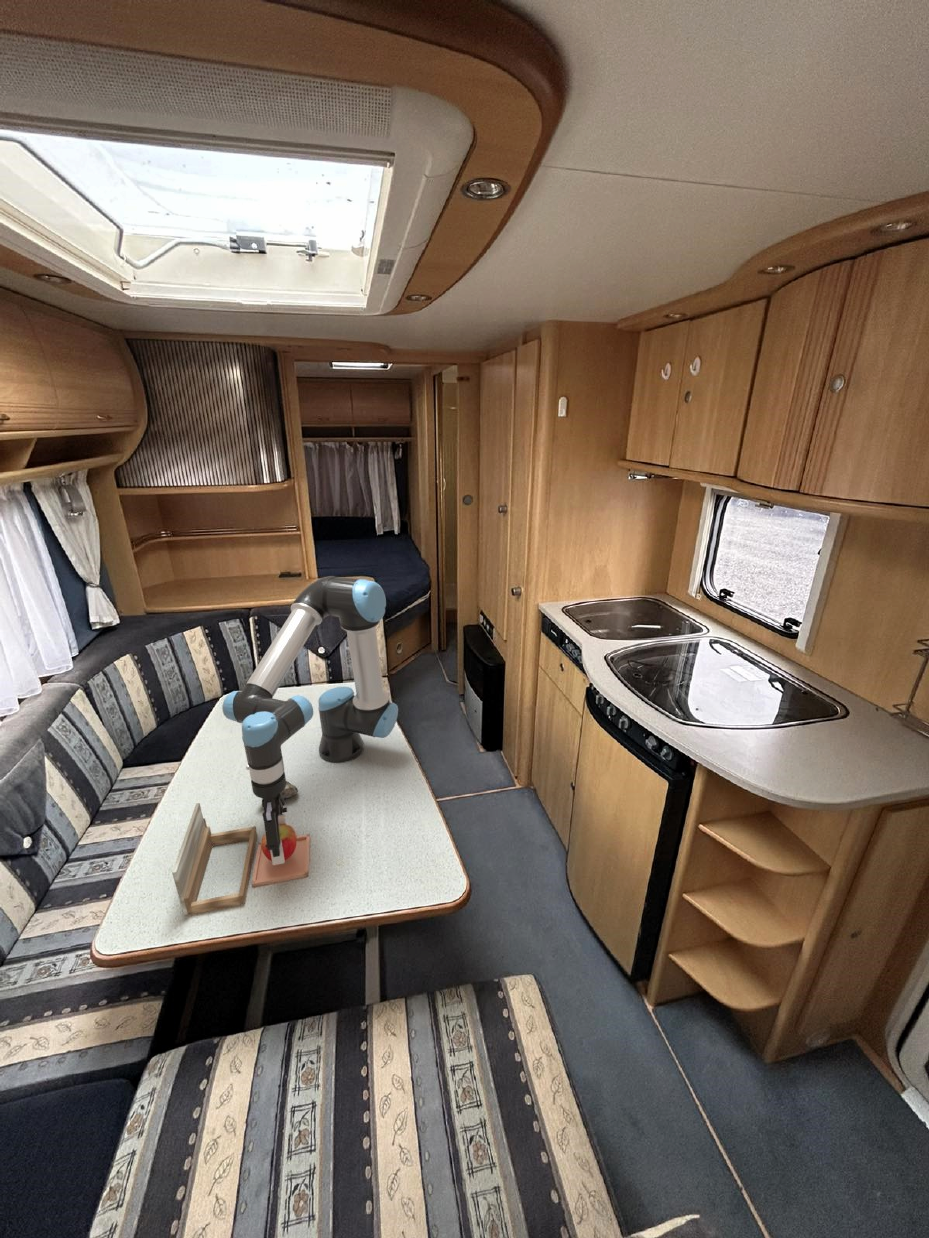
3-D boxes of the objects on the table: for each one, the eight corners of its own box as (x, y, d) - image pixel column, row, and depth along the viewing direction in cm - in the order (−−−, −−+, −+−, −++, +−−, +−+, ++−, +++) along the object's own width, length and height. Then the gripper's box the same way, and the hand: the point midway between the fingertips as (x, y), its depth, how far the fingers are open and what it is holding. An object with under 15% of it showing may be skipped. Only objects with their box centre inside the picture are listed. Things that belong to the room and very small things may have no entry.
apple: (265, 874, 123) (259, 842, 119) (263, 848, 130) (257, 818, 127) (300, 863, 126) (295, 831, 122) (296, 839, 133) (291, 808, 130)
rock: (254, 791, 144) (263, 769, 153) (254, 808, 146) (262, 785, 155) (295, 794, 146) (302, 771, 155) (294, 810, 148) (300, 787, 157)
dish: (310, 839, 136) (309, 833, 136) (308, 878, 125) (307, 872, 124) (259, 848, 134) (258, 843, 133) (252, 889, 122) (251, 883, 121)
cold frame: (258, 833, 138) (250, 791, 133) (245, 906, 117) (235, 861, 112) (207, 841, 136) (196, 800, 130) (184, 918, 115) (171, 872, 109)
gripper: (256, 750, 128) (269, 821, 136) (243, 808, 109) (259, 886, 117) (287, 746, 130) (298, 816, 138) (280, 802, 110) (293, 880, 119)
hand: (280, 848), depth 127 cm, fingers closed on apple, 8 cm apart
